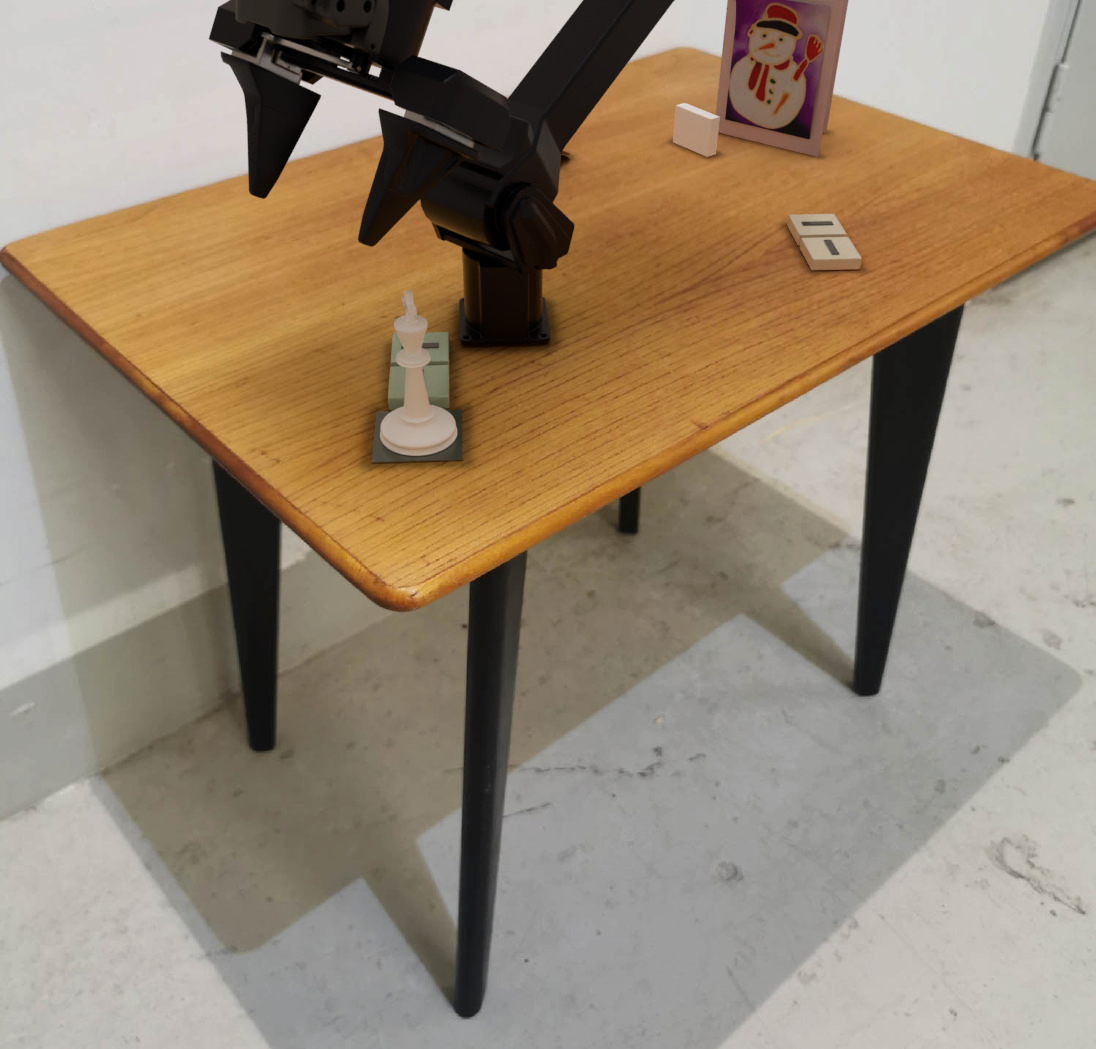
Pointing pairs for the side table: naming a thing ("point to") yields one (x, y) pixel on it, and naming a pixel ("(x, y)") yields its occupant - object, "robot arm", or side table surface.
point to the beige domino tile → (823, 242)
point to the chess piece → (415, 395)
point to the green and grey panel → (436, 392)
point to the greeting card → (779, 70)
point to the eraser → (696, 129)
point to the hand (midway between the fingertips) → (309, 220)
